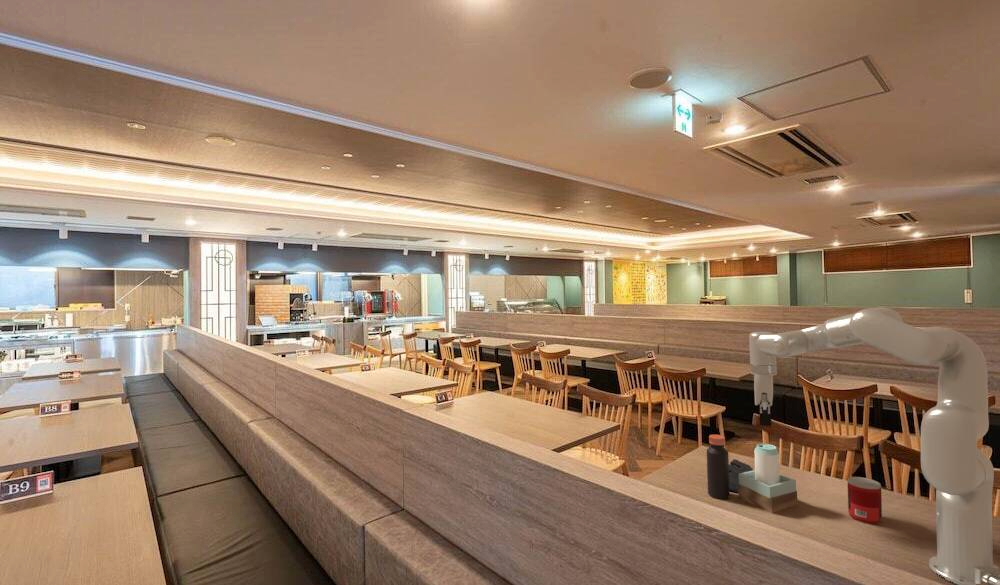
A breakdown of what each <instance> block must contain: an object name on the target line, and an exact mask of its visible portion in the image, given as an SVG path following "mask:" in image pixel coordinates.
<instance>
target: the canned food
mask: <svg viewBox="0 0 1000 585" xmlns="http://www.w3.org/2000/svg"><path fill="white" fill-rule="evenodd" d="M882 501H883V500H882V484H881V483H880V482H878V481H876V480H875V479H871V478H867V477H863V476H862V477H861V476H851V477H848V478H847V508H848V514H849V516H850V517H851V518H852V519H854V520H856V521H859V522H861V523H864V524H872V525H876V524H880V523H881V522H882V520H883V507H882V504H883V503H882Z"/></svg>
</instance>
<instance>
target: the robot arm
mask: <svg viewBox="0 0 1000 585" xmlns="http://www.w3.org/2000/svg"><path fill="white" fill-rule="evenodd" d="M748 339H749V340H748V342H749V344H748V347H749V361H750V362H749V366H750V367H749V368H750V374H751V375H753V376H754V377H753V379H754V380H753V382H754V383H753V390H754V391H753V392H754V405H755V406H758V405H759V413H758V415H759V416H758V417H759V426H762V427H763V426H764V427H772V406H773V399H774V376H777V375H778V371H777V370H778V368H777V357H779V358H787V357H793V356H797V355H799V356H800V355H804V354H808V353H813V352H818V351H822V350H826V349H842V348H846V347H851V346H857V345H861V344H869V345H870V346H873V347H874V348H876V349H878V350H881V351H883V352H885V353H888V354H889V355H892V356H894V357H897V358H899V359H901V360H903V361H905V362H908V363H911V364H915V365H918V366H920V365H921V366H929V365H934V364H938V367H939V372H938V377H937V402H936V405H935V406H933V407H931V408H929V409H928V410H927V411H926V412H925V414H924V415H923V416H922V420H921V425H920V468H921V471H922V472H921V473H922V475H923V477H924V479H925V480H926V482H927V483H928V484H929V485H931V487H933V488H934V489H935V518H936V520H935V521H936V526H935V527H936V555H935V556H931V557H930V558H929V560H928V565H929V568H930V570H932V571H933V572H934V573H935V574H936V573H937V574H938V576H939V575H941V576H942V577H944V578H945V579H944V578H943V579H944V580H946V581H947V582H950V581H951V583H952V582H953V584H954V585H976V584H983V583H986V584H988V585H1000V567H999V566H998V565H995V564H994V558H993V557H994V554H993V553H994V552H993V550H994V549H993V524H992V523H993V521H992V520H993V499H992V498H993V487H994V479H995V476H994V475H995V472H994V470H995V469H994V466H993V463H992V461H991V459H990V458H989V456H988V455H987V454H986V453H985V452H984V451H982V449H980V448H978V440H980V439H982V438H983V437H984V436H986V434H987V433H988V431H989V427H990V421H989V389H988V388H989V385H988V380H989V379H988V377H989V376H988V365H987V360H986V357H985V355H984V352H983V351H982V349H981V347H979V345H978V344H977V342H975V341H974V340H972V338H971V337H969V336H967V335H965V334H964V333H962V332H959V331H958V330H955V329H951V328H948V327H945V326H943V327H942V326H930V327H929V326H928V327H924V328H919V327H916V326H913V325H911V324H907V323H905V322H903V318H902V317H901V314H899V313H898V312H897V311H896V310H894V309H893V308H890V307H883V306H882V307H881V306H878V307H870V308H863V309H861V310H858V311H857V312H853V313H851V314H846V315H841V316H838V317H833V318H829V319H827V320H825V321H824V322H823V323H821V324H819V325H814V326H810V327H805V328H802V329H797V330H792V331H791V330H790V331H786V332H785V331H784V332H779V333H773V332H771V331H763V330H762V331H752V332H751V333H749V336H748ZM937 574H936V575H937ZM941 576H940V577H941ZM942 577H941V578H942Z"/></svg>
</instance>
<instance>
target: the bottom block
mask: <svg viewBox="0 0 1000 585" xmlns="http://www.w3.org/2000/svg"><path fill="white" fill-rule="evenodd" d="M737 495H738V499H740V500H742V501H744V502H746V503H749V504H751V505H753V506H755V507H757V508H760V509H762V510H764V511H766V512H768V513H771V514H775V513H777V512H780V511H783V510H787V509H790V508H792V507H796V506H798V490H796V491H795V492H791V493H788V494H784V495H780V496H777V497H773V498H768V497H766V496H764V495H762V494H760V493H757V492H755V491H753V490H751V489H749V488H746V487H744V486H742V485H740V484H738V493H737Z"/></svg>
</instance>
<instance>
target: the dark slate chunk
mask: <svg viewBox="0 0 1000 585" xmlns="http://www.w3.org/2000/svg"><path fill="white" fill-rule="evenodd" d="M752 470H754V469H753V467H751V465H749V464H747V463H745V462H742V461H740V460H738V459H735V458H734V459H732V461H729V491H731V492H734V493H737V494H738V484H739V474H740V473H744V472H748V471H752Z"/></svg>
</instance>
